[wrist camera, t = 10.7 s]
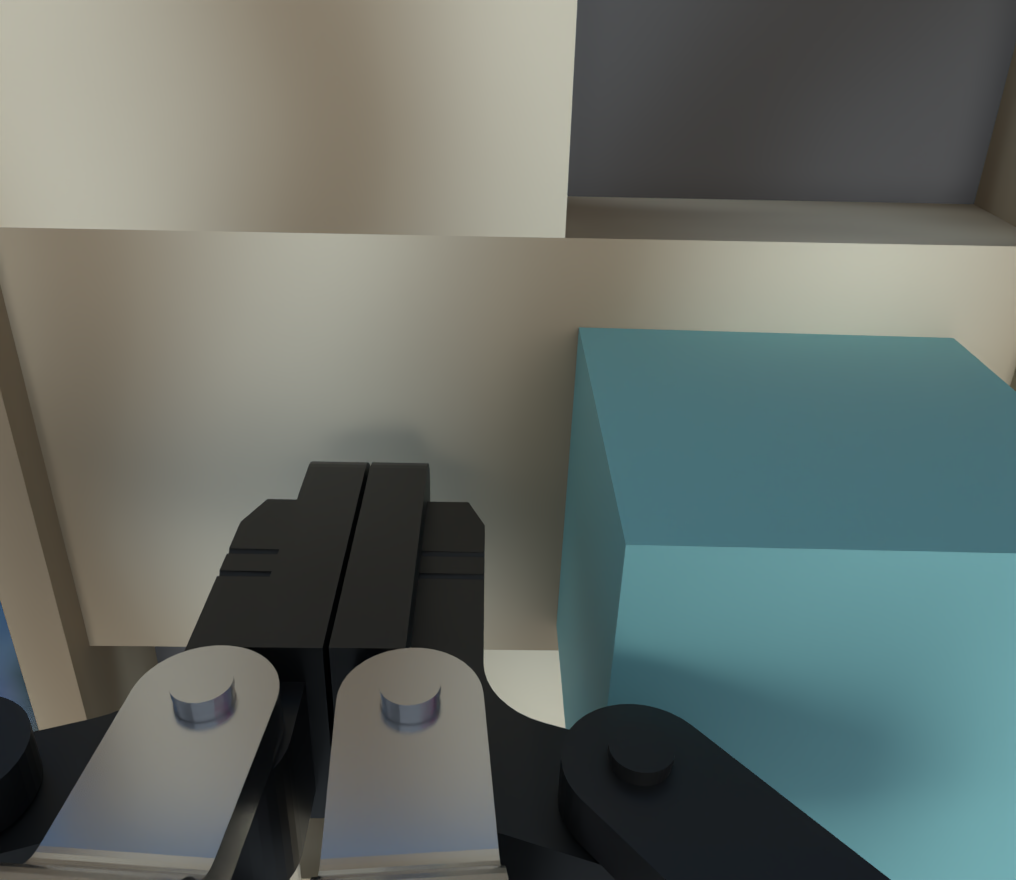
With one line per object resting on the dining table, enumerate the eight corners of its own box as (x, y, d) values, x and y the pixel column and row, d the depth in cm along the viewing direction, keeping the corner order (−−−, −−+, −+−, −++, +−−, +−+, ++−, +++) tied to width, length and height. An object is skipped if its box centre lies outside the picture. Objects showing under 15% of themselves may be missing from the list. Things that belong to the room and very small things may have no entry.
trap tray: (187, 950, 22) (121, 1163, 18) (-131, -433, 10) (-509, -661, 6) (807, 952, 22) (872, 1162, 19) (1189, -390, 11) (1585, -583, 7)
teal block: (556, 625, 14) (582, 922, 10) (578, 327, 12) (626, 544, 8) (870, 632, 15) (1031, 927, 10) (953, 337, 12) (1210, 557, 8)
